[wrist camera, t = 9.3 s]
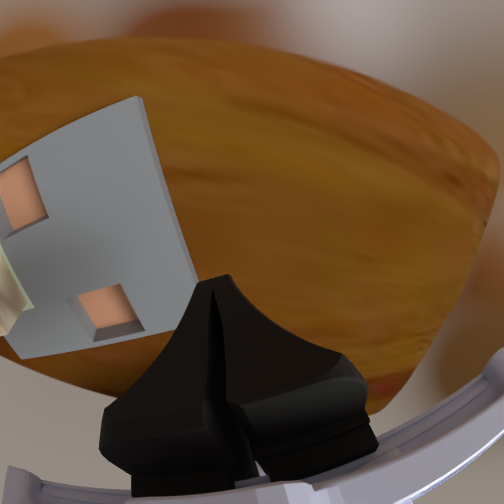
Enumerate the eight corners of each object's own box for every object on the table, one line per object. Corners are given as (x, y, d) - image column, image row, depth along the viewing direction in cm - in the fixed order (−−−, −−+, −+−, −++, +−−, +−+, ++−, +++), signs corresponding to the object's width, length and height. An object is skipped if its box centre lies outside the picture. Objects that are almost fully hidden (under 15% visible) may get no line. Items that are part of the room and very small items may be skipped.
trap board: (207, 304, 23) (209, 320, 21) (27, 346, 21) (21, 359, 20) (142, 97, 15) (135, 95, 13) (-48, 204, 14) (-61, 212, 12)
